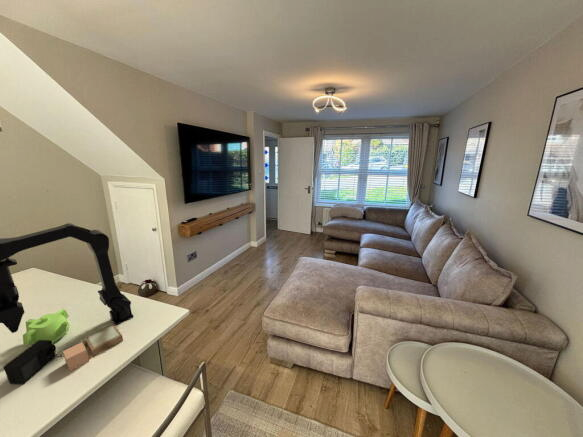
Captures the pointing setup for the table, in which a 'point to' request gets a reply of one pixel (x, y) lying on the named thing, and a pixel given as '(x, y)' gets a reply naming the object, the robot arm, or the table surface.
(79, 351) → the cube
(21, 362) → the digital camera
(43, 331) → the teapot
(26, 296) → the table surface
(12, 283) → the robot arm
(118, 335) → the stand
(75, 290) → the table surface
